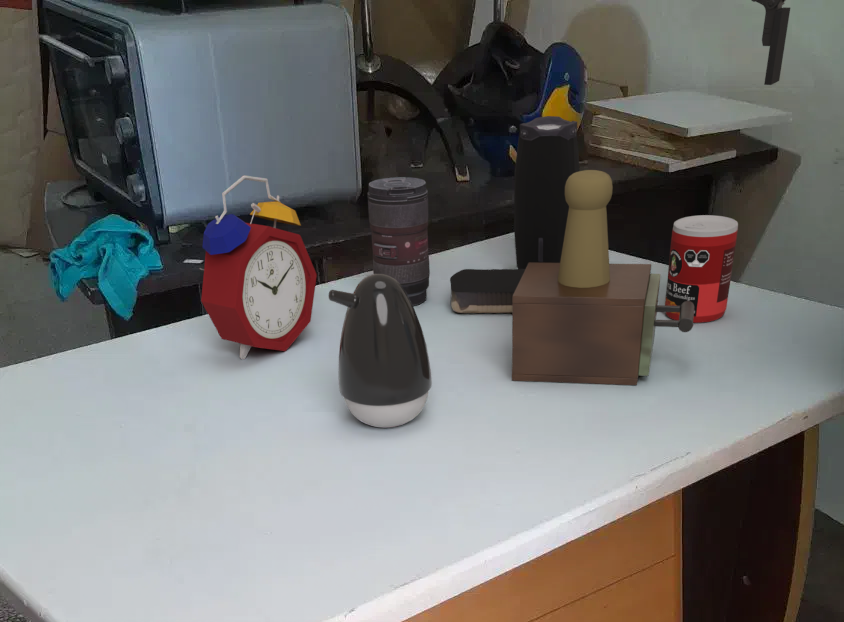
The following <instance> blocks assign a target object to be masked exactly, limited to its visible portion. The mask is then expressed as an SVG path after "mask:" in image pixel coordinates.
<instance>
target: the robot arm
mask: <svg viewBox="0 0 844 622" xmlns="http://www.w3.org/2000/svg"><path fill="white" fill-rule="evenodd" d="M786 1H787V0H751V2H753V3H758V4H760V5H761V6H763V7H764V10H765V15H764V21H763V29H762V34H761V35H762V36H761V43H762V47H769V50H768V57H767V61H766V62H767V63H766V70H765V77H764V86H772V85H774V84H776V83H778V82H780V78H781V72H782V66H783V58H784V52H785V47H786V46H785V45H786V39H787V34H788V33H787V32H788V26H789V20H790V13H791V7H787V6H786V7H783V6H784V5H785V2H786Z"/></svg>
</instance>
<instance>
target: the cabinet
mask: <svg viewBox="0 0 844 622" xmlns="http://www.w3.org/2000/svg"><path fill="white" fill-rule="evenodd" d="M559 267H560V263H531V262H529V263H528V265H527V267H526V269H525V272H524V274H523V276H522V278H521V280H520V282H519V284H518V286H517V288H516V290H515V292H514V294H513V307H512V313H511V315H512V317H511V318H512V321H511V322H512V324H511V327H512V328H511V333H512V334H511V381H512V382H514V381H515V382H516V381H517V382H541V383H543V382H544V383H566V384H567V383H569V384H595V385H596V384H597V385H618V386H619V385H620V386H621V385H622V386H624V385H625V386H637V385H638V381H639V375H638V371H639V360H640V349H641V338H642V327H643V316H644V305H645V300H646V295H647V289H648V284H649V279H650V274H652V273H651V272H652V264H651V263H609V269H610V281H609V282H608V283H606V284H604V285H601V286H597V287H589V288H577V287H569V286H565V285H562V284H560V283H559V282H558V273H559Z"/></svg>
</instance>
